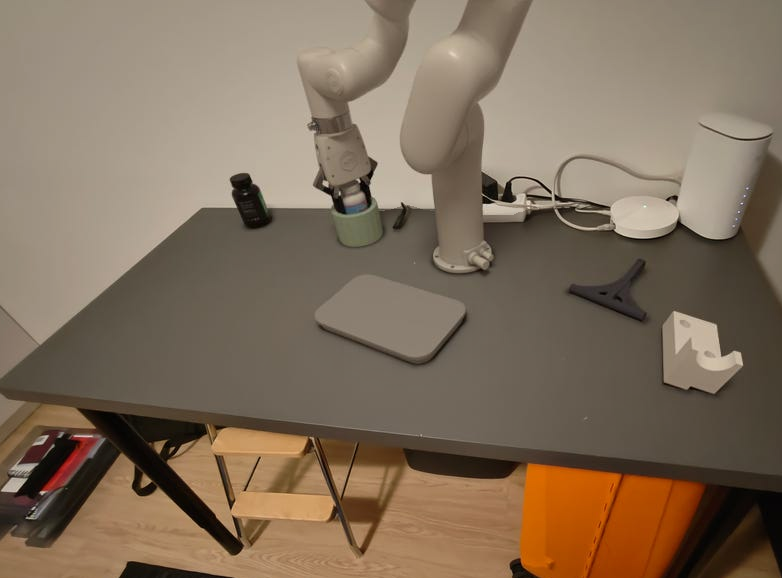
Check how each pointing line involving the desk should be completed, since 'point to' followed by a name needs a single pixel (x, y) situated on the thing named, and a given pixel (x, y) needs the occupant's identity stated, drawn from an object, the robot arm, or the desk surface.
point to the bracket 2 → (695, 354)
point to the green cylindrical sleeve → (359, 226)
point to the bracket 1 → (615, 293)
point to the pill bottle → (353, 198)
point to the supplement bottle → (249, 201)
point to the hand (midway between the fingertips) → (354, 206)
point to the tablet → (392, 317)
